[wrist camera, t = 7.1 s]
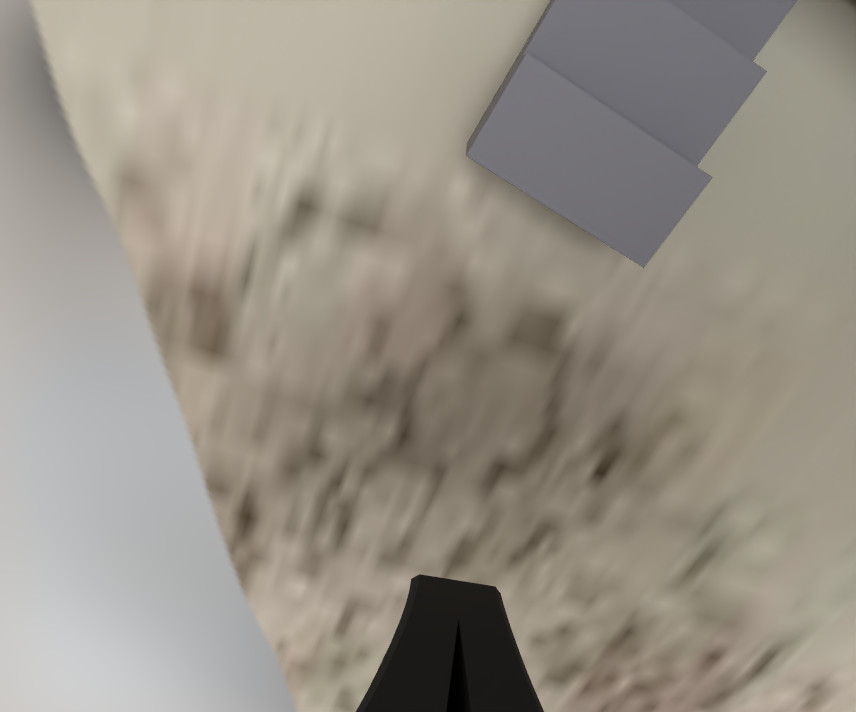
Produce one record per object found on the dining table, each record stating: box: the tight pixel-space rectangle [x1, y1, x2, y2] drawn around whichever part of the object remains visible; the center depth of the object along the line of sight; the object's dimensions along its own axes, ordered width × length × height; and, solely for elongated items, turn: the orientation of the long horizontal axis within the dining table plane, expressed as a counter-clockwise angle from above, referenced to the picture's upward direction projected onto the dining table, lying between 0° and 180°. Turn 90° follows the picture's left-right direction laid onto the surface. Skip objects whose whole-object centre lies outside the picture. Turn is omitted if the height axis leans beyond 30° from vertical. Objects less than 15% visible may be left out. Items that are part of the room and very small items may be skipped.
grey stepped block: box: [466, 0, 797, 268], centre depth 14 cm, size 4×7×4 cm, turn 149°
